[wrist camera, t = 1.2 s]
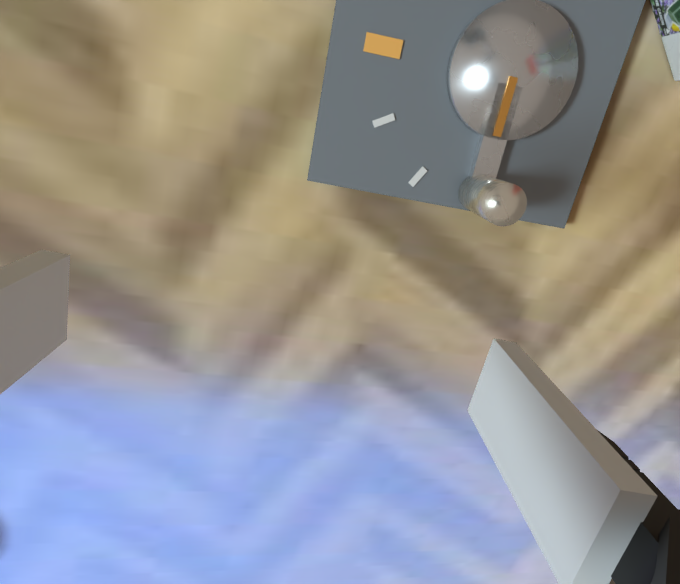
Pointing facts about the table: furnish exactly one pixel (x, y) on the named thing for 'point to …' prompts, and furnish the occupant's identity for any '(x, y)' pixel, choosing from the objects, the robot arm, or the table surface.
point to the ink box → (669, 31)
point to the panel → (437, 112)
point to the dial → (508, 93)
